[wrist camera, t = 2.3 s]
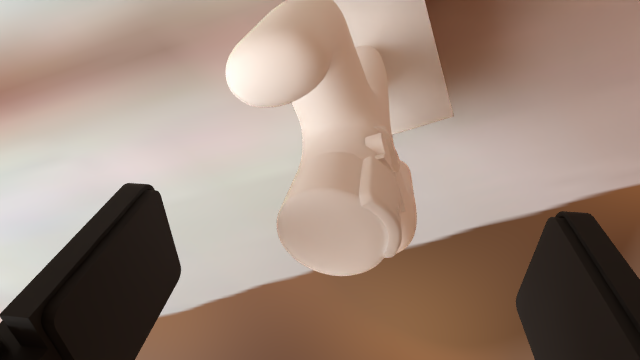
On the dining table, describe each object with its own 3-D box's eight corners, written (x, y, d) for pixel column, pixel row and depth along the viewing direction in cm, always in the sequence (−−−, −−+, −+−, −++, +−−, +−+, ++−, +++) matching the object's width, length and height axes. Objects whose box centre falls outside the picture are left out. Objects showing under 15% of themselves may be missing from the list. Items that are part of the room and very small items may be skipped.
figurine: (331, 141, 25) (287, 370, 12) (262, -12, 20) (86, 114, 8) (447, 105, 22) (534, 340, 10) (400, -77, 18) (455, -44, 6)
